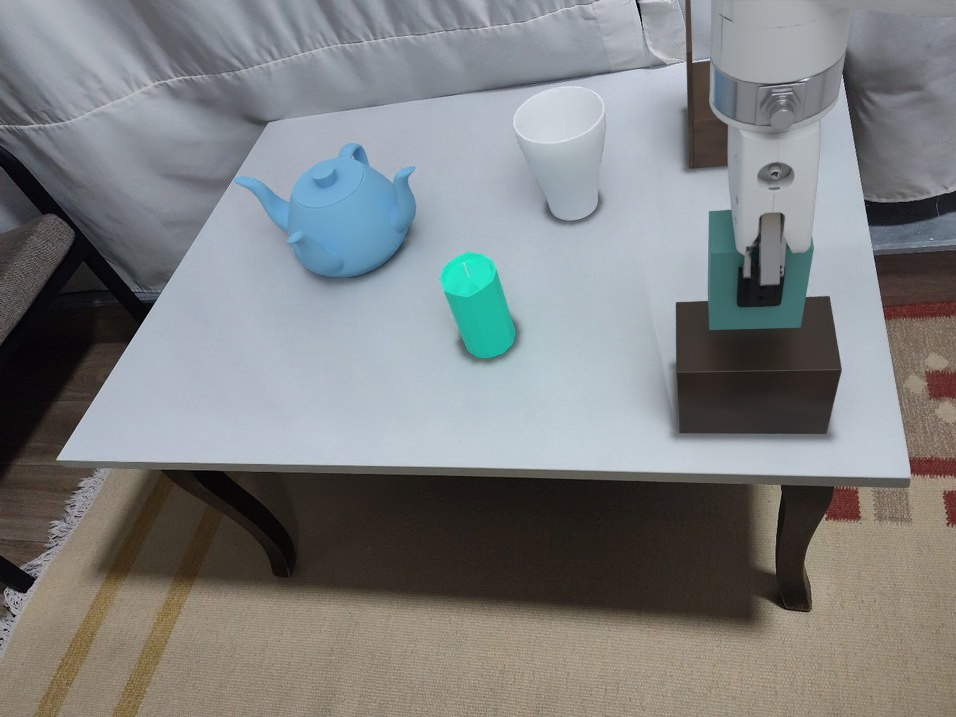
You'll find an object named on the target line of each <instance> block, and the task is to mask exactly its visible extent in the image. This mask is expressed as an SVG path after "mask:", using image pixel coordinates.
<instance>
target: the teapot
mask: <svg viewBox="0 0 956 717" xmlns="http://www.w3.org/2000/svg"><path fill="white" fill-rule="evenodd" d="M368 158H369V157H368V156H367V152H366V150H365V149H364V147H363V146H362V145H361V144H359V143H355V142H349V143H347V144H345V145H343V146H342V147H341V148H340V150H339V152H338V154H337V157H334V158H328V159H326V160H322V161H320V162H318V163H316V164H314V165H313V166H311V167H309V168H308V169H307V170H305V171H304V172H303V173H302V174H301V175H300V176H299V177H298V179H297V180H296V181H295V183H294V185H293V187H292V191H291V194H290V198H289V201H288V200H285V199H283V198H281V197H280V196H279V195H277V194H276V193H275V192H274V191H273V190H272V189H271V188H269V186H267V185H266V184H265V183H264V182H262V181H261V180H259V179H258V178H254V177H251V176H236V177H235V178H233V182H234V183H235V184H236V185H239V186H240V187H242V188H245V189H247V190H248V191H249V192H251V193H252V194H253V195H254V196H255V197H256V199H257V200H258V201H259V203H260V204H261V206H262V207H263V210H264V211H265V213H266V215H267V216H268V217H269V219H270V220H271V222H272V223H273V224H275V226H276V227H278V228H279V229H280V230H282V231H284V232H286V233H287V234H288V238H287V239H286V244H289V245H291V248H292V252H293V253H294V255H295V257H296V259H297V261H298V262H299V263H300V264H301V265H302V266H303V267H304V268H305V269H307V270H308V271H310V272H312V273H315V274H317V275H321V276H324V277H329V278H331V277H332V278H352V277H353V278H354V277H357V276H361V275H364V274H368V273H369V272H372V271H374V270H376V269H377V268H379V267H381V266H382V265H384V264H385V263H386V262H388V261H389V260H390V259H391V258H392V257H393V256H394V255H395V254H396V252H397V251H398V249H400V247H401V245H402V243H403V241H404V239H405V237H406V235H407V233H408V231H409V227H410V226H411V224H412V222H413V221H414V219H415V217H416V212H417V202H416V198H415V195H414V193H413V191H412V189H411V187H410V184H409V178H410V176H411V175H412V173H413V172H415V170H416V166H414V165H411V166H407V167H405V168H402V169H400V170H399V171H397V172H396V173H395V175H394V177H393V182H392V181H391V180H390V179H388V177H386V176H385V175H384V174H382V173H381V172H380V171H378V170H377V169H375V168H373V167H371V166H370V162H369V159H368Z"/></svg>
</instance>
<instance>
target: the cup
mask: <svg viewBox="0 0 956 717" xmlns="http://www.w3.org/2000/svg"><path fill="white" fill-rule="evenodd" d="M606 110H607V108H606V104H605V100H604V99H603V98H602V96H601V95H600V94H599V93H597V92H595V91H594V90H592V89H590V88H587V87H583V86H577V85H567V86H566V85H565V86H557V87H551V88H548V89H545V90H543V91H540V92H538V93H536V94H535V95H532V96H530V97H529V98H528V99H526V100H525V101H524V102H523V103H522V104H521V105H520V106H519V107H518V108H517V110H516V111H515V113H514V114H513V117H512V118H513V119H512V129H513V132H514V134H515V138H516V140H517V144H518V146H519V148H520V150H521V152H522V155H523V157H524V159H525V161H526V163H527V165H528V167H529V168H530V170H531V172H532V174H533V175H534V177H535V179H536V181H537V182H538V184H539V186H540V188H541V190H542V192H543V193H544V195H545V199H546V201H547V204H548V207H549V210H550V212H551V214H552V215H553V216H554V217H555V218H557V219H559V220H562V221H576V220H581V219H583V218H587V217H588V216H589V215H591V214H592V213H593V212H594V211H595V210H596V209H597V207H598V205H599V179H600V171H601V165H602V160H603V155H604V150H605V141H606V131H607V111H606Z"/></svg>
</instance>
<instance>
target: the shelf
mask: <svg viewBox="0 0 956 717" xmlns="http://www.w3.org/2000/svg"><path fill="white" fill-rule="evenodd" d="M691 1H692V0H684V7H685V8H684V9H685V10H684V12H685V58H686V59H685V62H686V113H687V114H686V116H687V152H688V154H687V155H688V158H687V159H688V169H698V168H711V167H721V166H728V124H726V123H724V122H723V121H721V120H720V119H719V118H718V117H717V116H716V115H715V114H714V113H713V111H712V109H711V107H710V102H709V94H710V60H703V61H695V62H693V34H692V33H693V32H692V30H693V29H692V28H693V27H692V2H691Z"/></svg>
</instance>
